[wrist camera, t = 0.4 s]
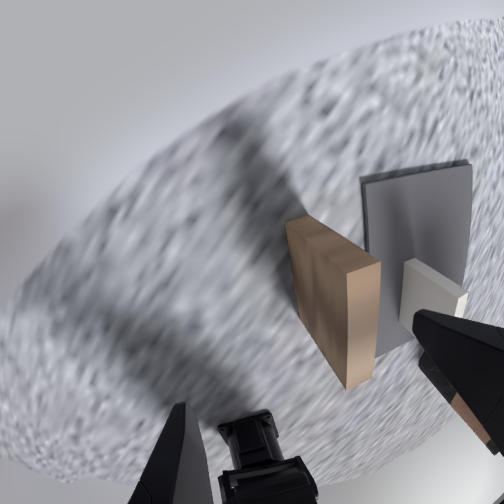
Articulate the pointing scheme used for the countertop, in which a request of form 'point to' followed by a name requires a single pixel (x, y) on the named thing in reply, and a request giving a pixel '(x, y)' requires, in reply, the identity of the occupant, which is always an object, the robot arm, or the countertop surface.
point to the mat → (416, 235)
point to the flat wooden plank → (336, 296)
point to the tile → (428, 293)
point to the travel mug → (455, 400)
